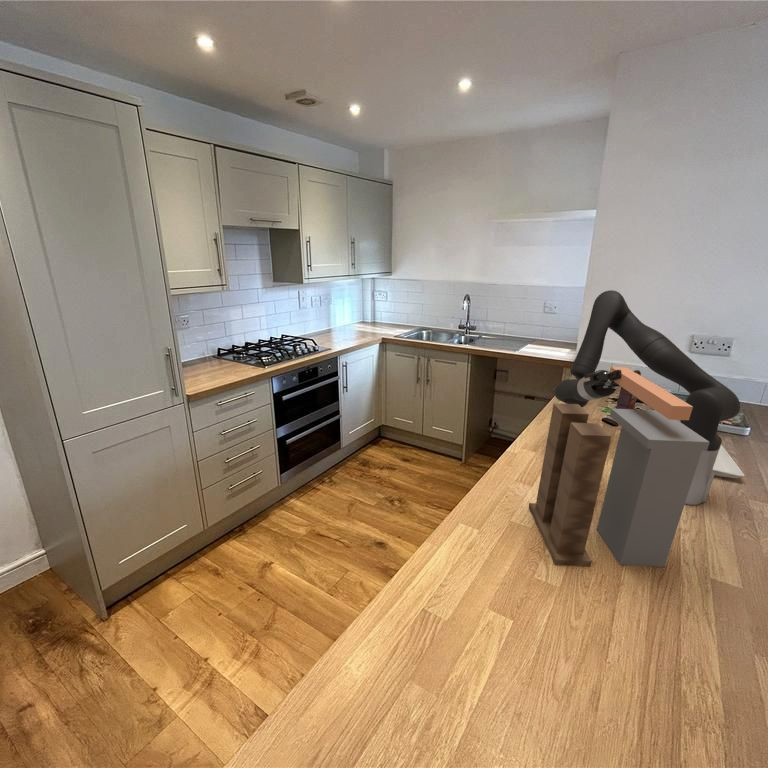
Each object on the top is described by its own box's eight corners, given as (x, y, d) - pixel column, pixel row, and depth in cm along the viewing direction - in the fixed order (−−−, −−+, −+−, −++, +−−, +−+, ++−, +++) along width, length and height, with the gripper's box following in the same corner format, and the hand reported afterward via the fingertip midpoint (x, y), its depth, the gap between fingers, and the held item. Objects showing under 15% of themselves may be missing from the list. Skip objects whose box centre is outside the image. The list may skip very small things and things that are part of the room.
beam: (608, 377, 108) (610, 366, 107) (623, 378, 108) (626, 367, 107) (668, 419, 84) (672, 405, 83) (688, 420, 84) (692, 406, 83)
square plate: (642, 466, 136) (645, 456, 135) (630, 432, 160) (632, 423, 159) (743, 485, 127) (747, 474, 126) (714, 446, 151) (717, 437, 150)
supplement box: (625, 423, 167) (634, 386, 162) (612, 419, 171) (620, 383, 165) (632, 417, 173) (641, 382, 168) (620, 414, 176) (628, 379, 171)
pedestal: (632, 521, 109) (662, 410, 98) (668, 567, 94) (709, 442, 83) (586, 519, 109) (611, 408, 98) (615, 564, 94) (649, 439, 83)
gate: (557, 508, 113) (579, 401, 102) (590, 566, 94) (621, 440, 83) (528, 507, 114) (546, 400, 103) (554, 564, 94) (580, 439, 83)
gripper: (570, 372, 120) (599, 358, 103) (620, 373, 119) (657, 360, 102) (571, 397, 118) (601, 387, 102) (621, 399, 118) (660, 389, 101)
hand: (629, 374), depth 102 cm, fingers closed on beam, 4 cm apart
